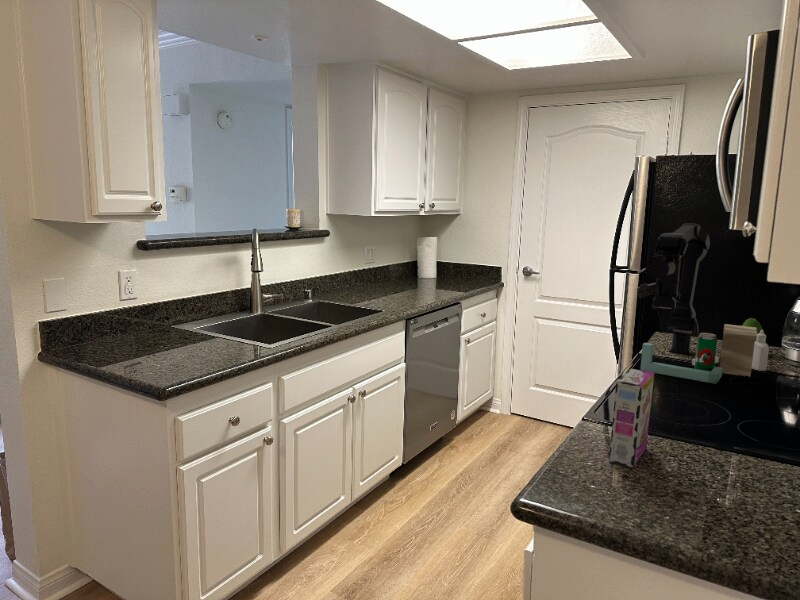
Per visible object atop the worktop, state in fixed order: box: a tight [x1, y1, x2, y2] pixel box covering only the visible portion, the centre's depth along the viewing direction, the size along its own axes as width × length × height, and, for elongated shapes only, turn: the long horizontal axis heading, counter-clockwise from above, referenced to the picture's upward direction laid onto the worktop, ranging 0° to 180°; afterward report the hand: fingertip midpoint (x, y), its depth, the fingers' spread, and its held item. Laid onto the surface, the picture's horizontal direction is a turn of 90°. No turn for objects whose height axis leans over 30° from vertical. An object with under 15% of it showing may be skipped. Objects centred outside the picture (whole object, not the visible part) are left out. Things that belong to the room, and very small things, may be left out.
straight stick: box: [691, 355, 720, 366], centre depth 182 cm, size 10×2×2 cm, turn 118°
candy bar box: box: [608, 368, 655, 469], centre depth 114 cm, size 11×5×16 cm, turn 145°
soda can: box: [693, 332, 718, 372], centre depth 169 cm, size 5×5×12 cm
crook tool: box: [640, 342, 723, 385], centre depth 171 cm, size 9×20×8 cm, turn 53°
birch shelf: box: [719, 323, 757, 378], centre depth 166 cm, size 8×8×14 cm
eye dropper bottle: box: [751, 329, 770, 372], centre depth 176 cm, size 4×6×12 cm
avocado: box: [741, 317, 763, 341], centre depth 194 cm, size 8×8×12 cm
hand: (664, 326), depth 179 cm, fingers open, 9 cm apart
